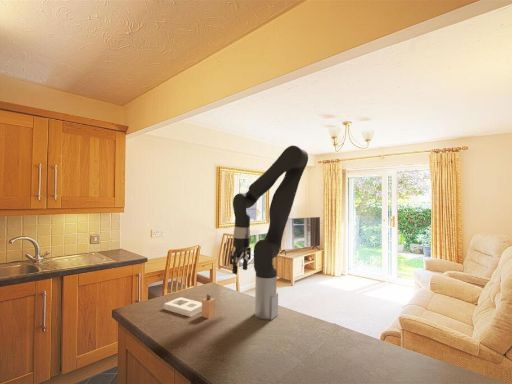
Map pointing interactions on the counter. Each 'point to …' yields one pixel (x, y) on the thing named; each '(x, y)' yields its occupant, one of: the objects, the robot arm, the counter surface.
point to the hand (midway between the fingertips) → (240, 271)
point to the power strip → (184, 306)
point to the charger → (208, 307)
